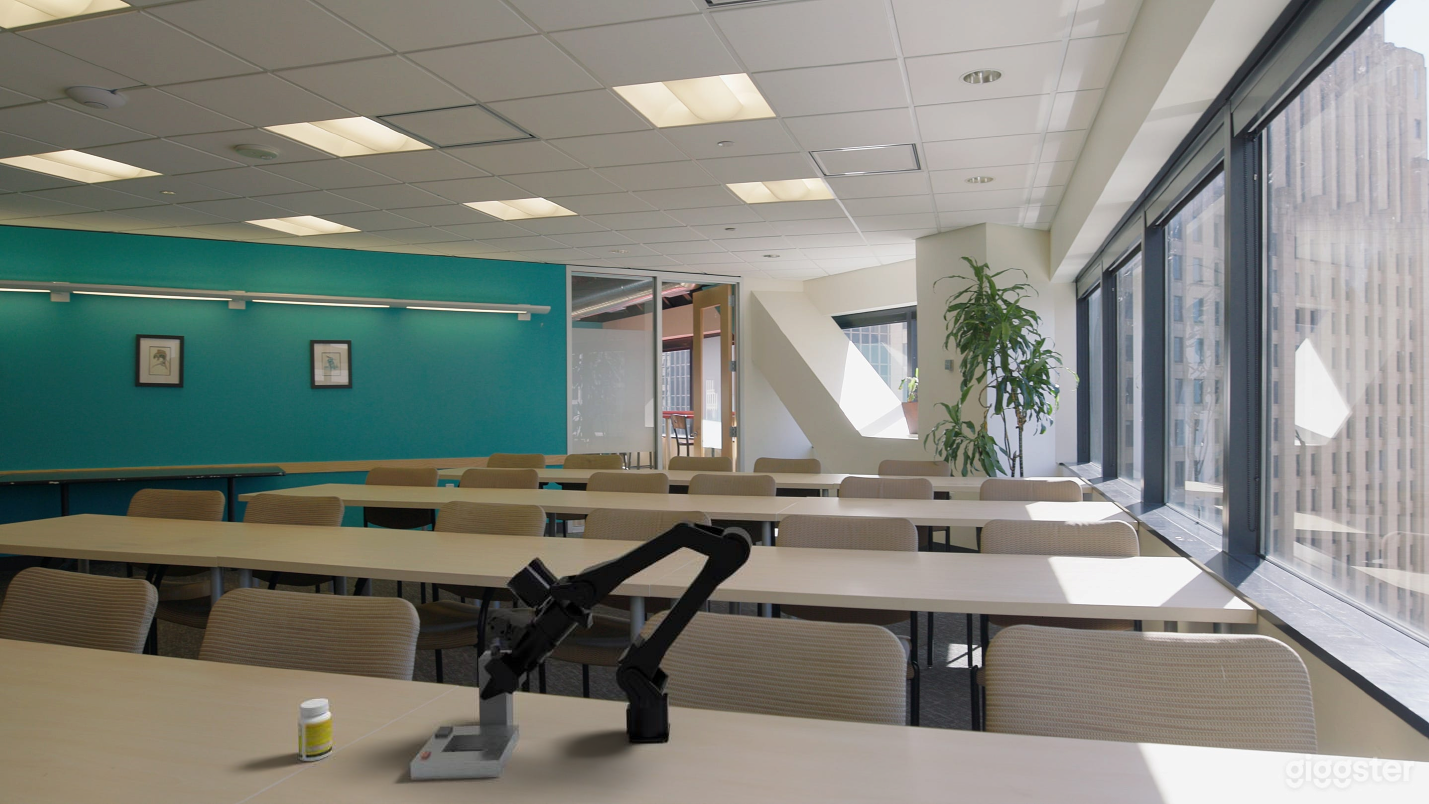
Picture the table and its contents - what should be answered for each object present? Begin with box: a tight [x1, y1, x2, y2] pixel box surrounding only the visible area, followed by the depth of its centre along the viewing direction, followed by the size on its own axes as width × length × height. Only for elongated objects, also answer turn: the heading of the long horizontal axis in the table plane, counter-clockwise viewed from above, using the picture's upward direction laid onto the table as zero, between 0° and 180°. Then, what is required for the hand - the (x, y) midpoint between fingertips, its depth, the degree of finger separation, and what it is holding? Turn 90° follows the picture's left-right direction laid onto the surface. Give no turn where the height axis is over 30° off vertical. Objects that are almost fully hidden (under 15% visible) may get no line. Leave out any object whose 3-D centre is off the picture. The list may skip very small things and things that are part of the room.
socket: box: [410, 724, 520, 781], centre depth 124 cm, size 13×13×3 cm
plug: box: [477, 643, 514, 726], centre depth 134 cm, size 4×4×15 cm
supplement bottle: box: [297, 698, 333, 762], centre depth 126 cm, size 5×5×8 cm
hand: (487, 692), depth 134 cm, fingers closed on plug, 5 cm apart
